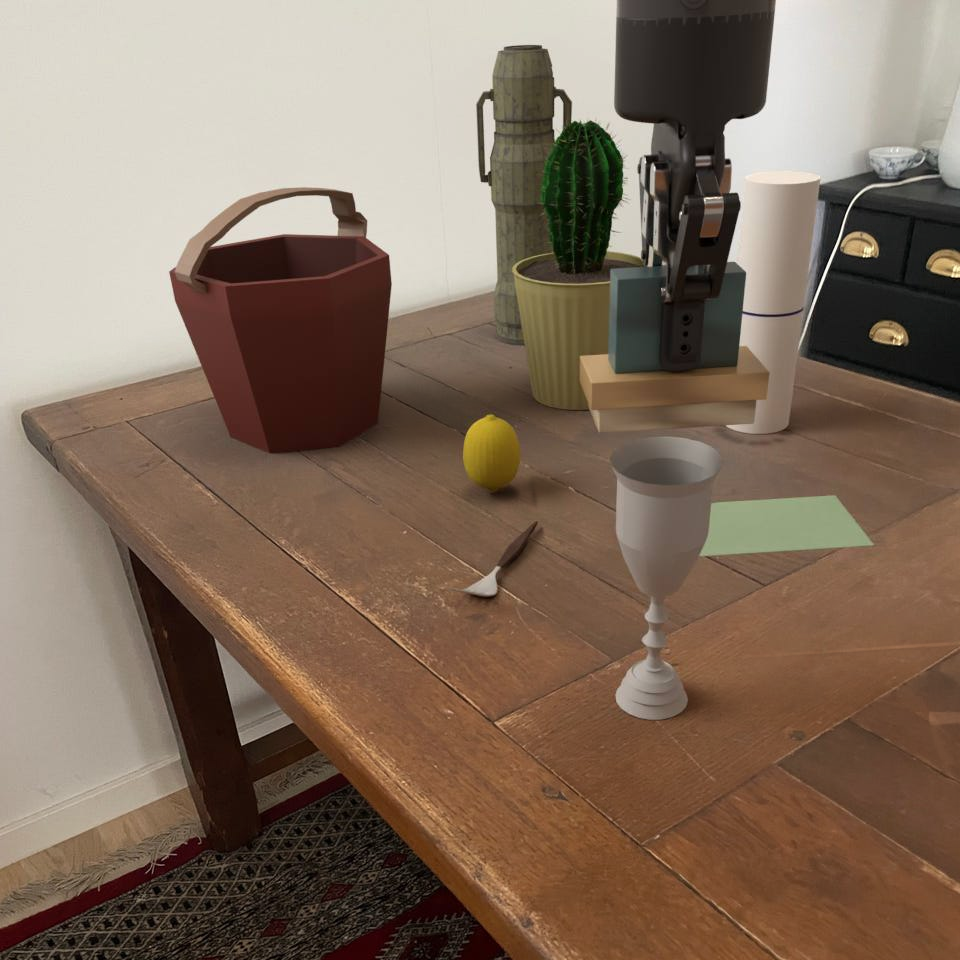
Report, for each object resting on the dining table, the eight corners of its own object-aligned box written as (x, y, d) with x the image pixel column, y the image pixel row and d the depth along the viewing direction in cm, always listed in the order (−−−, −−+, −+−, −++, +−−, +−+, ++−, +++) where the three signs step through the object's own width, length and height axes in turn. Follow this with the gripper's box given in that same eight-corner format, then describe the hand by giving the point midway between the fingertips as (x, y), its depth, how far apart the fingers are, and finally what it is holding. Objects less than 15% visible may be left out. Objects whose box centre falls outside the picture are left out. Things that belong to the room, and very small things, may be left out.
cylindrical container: (711, 426, 113) (732, 181, 99) (737, 405, 117) (761, 169, 104) (774, 438, 109) (805, 186, 95) (798, 416, 114) (831, 173, 100)
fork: (550, 528, 94) (550, 509, 93) (480, 615, 82) (478, 594, 81) (524, 524, 95) (524, 504, 94) (450, 609, 83) (449, 588, 82)
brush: (741, 395, 63) (756, 254, 58) (764, 424, 59) (781, 275, 54) (579, 405, 62) (580, 264, 58) (590, 435, 58) (592, 287, 54)
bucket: (358, 376, 131) (335, 164, 118) (449, 427, 116) (434, 189, 102) (174, 422, 121) (124, 195, 107) (246, 484, 105) (199, 227, 91)
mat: (834, 498, 97) (835, 494, 96) (874, 549, 88) (874, 545, 88) (666, 509, 96) (666, 505, 96) (690, 560, 88) (690, 556, 88)
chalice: (700, 733, 68) (724, 487, 59) (598, 725, 70) (605, 483, 60) (700, 670, 74) (722, 437, 65) (606, 664, 76) (613, 435, 66)
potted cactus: (509, 416, 118) (501, 127, 101) (520, 372, 130) (515, 108, 114) (644, 417, 116) (659, 122, 99) (643, 371, 128) (655, 103, 112)
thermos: (574, 342, 139) (577, 46, 120) (488, 347, 139) (477, 51, 120) (565, 323, 147) (566, 41, 128) (483, 328, 146) (472, 46, 127)
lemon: (480, 477, 104) (476, 401, 100) (530, 485, 102) (528, 408, 98) (455, 499, 100) (450, 421, 96) (506, 508, 98) (504, 429, 94)
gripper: (820, 6, 43) (773, 398, 53) (735, -3, 55) (709, 321, 65) (644, 15, 43) (629, 407, 53) (596, 5, 55) (591, 328, 64)
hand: (673, 358), depth 59 cm, fingers closed on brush, 2 cm apart
